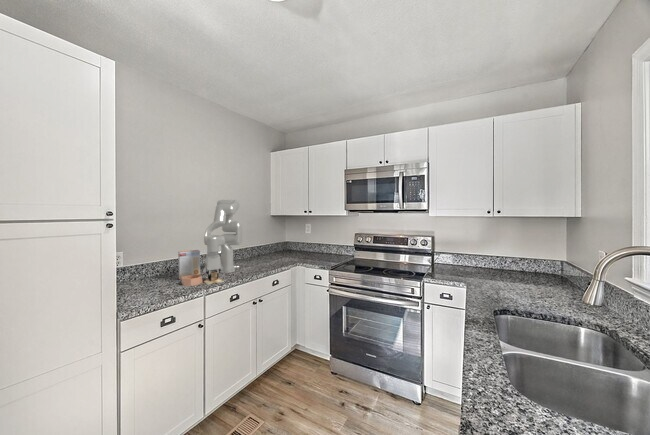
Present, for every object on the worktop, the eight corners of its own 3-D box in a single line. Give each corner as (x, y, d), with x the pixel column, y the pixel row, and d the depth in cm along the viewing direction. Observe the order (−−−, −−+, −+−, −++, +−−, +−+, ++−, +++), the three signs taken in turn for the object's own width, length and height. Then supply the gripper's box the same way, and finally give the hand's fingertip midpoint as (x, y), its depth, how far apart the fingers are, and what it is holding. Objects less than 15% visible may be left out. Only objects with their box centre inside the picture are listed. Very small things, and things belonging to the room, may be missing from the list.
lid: (218, 278, 198) (218, 269, 198) (224, 281, 189) (224, 272, 189) (201, 281, 190) (201, 272, 190) (207, 284, 182) (207, 275, 181)
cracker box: (198, 276, 208) (198, 249, 207) (200, 277, 203) (200, 250, 203) (178, 279, 199) (178, 251, 199) (180, 280, 195) (179, 252, 194)
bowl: (198, 280, 194) (198, 273, 194) (204, 284, 185) (203, 276, 185) (180, 283, 186) (180, 276, 186) (185, 287, 177) (185, 279, 177)
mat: (218, 279, 198) (218, 278, 198) (224, 282, 190) (224, 281, 189) (202, 282, 190) (202, 281, 190) (207, 285, 182) (207, 284, 182)
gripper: (222, 252, 198) (223, 276, 198) (198, 254, 187) (199, 280, 187) (226, 253, 192) (227, 278, 193) (202, 255, 181) (202, 282, 182)
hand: (213, 279), depth 190 cm, fingers closed on lid, 4 cm apart
